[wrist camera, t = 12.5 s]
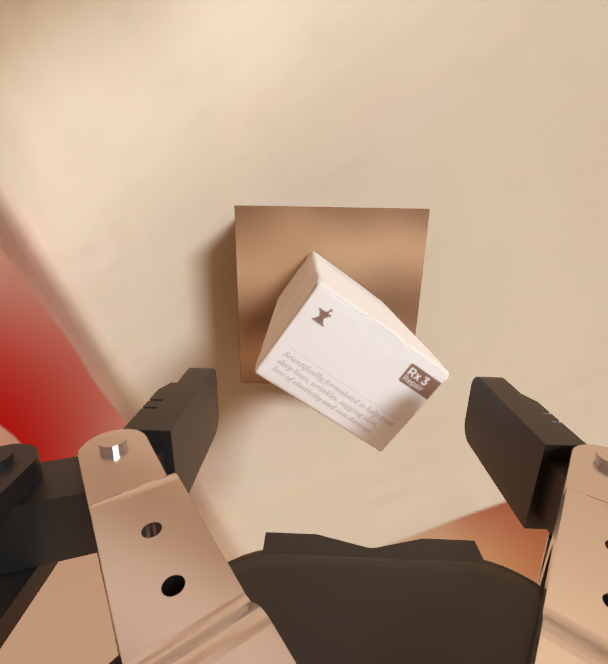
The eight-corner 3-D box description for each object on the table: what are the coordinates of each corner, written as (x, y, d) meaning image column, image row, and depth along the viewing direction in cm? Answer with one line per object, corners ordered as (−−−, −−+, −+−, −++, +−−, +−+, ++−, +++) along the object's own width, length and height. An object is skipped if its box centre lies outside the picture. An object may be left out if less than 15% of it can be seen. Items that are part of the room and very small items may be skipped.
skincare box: (275, 301, 25) (239, 377, 13) (314, 245, 24) (312, 274, 12) (349, 352, 26) (376, 464, 14) (390, 300, 25) (456, 376, 13)
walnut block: (248, 207, 28) (234, 205, 23) (409, 210, 28) (429, 208, 23) (252, 356, 31) (240, 382, 27) (395, 360, 31) (409, 387, 26)
